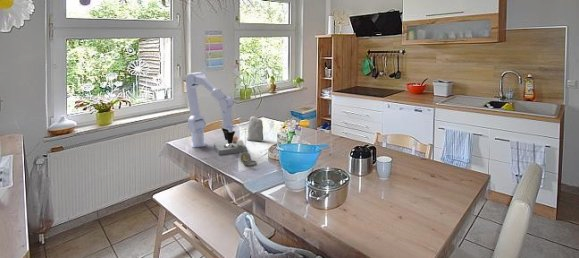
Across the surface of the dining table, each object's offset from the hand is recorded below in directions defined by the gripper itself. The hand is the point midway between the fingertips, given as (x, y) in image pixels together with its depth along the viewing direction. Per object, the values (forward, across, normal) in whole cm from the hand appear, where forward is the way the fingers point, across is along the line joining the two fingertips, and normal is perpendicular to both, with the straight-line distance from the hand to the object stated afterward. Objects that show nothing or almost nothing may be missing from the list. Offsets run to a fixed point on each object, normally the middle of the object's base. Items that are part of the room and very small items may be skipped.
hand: (228, 141), depth 215 cm
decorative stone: (+6, +15, -20) cm, 26 cm away
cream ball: (+1, -2, -6) cm, 6 cm away
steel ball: (+3, 0, 0) cm, 3 cm away
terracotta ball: (+1, +8, -5) cm, 9 cm away
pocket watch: (+6, -28, -4) cm, 29 cm away
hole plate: (+5, +3, -1) cm, 6 cm away
